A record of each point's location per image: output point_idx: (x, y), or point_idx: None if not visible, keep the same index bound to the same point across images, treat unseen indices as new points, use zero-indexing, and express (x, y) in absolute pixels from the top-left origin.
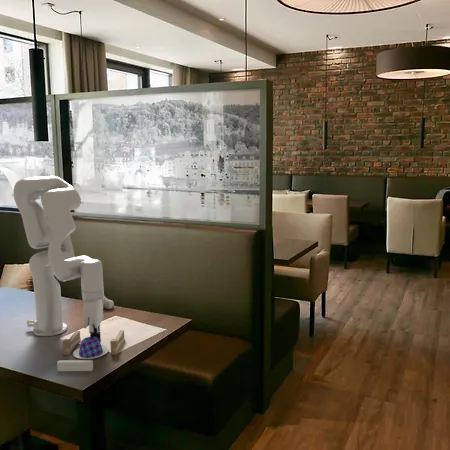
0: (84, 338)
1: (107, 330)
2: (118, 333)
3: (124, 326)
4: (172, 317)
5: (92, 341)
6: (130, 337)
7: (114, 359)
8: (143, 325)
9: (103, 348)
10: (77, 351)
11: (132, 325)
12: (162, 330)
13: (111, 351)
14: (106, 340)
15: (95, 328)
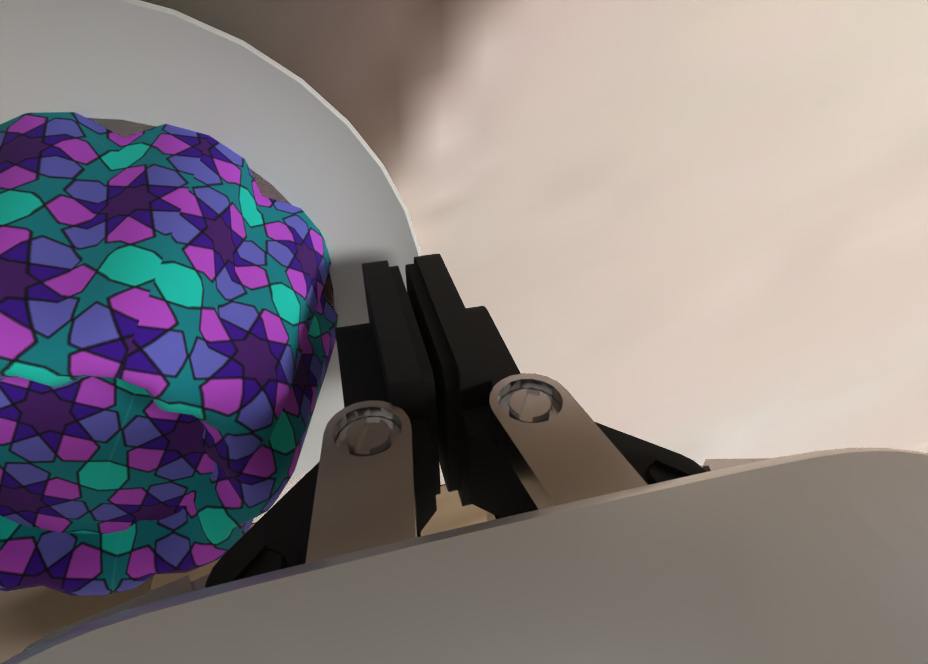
0: (76, 365)
1: (905, 235)
2: None
3: (921, 365)
4: None
5: (64, 515)
6: None
7: (52, 602)
8: None
9: (322, 409)
10: (89, 55)
11: (905, 419)
12: None
13: (156, 580)
14: (590, 338)
15: (525, 494)
